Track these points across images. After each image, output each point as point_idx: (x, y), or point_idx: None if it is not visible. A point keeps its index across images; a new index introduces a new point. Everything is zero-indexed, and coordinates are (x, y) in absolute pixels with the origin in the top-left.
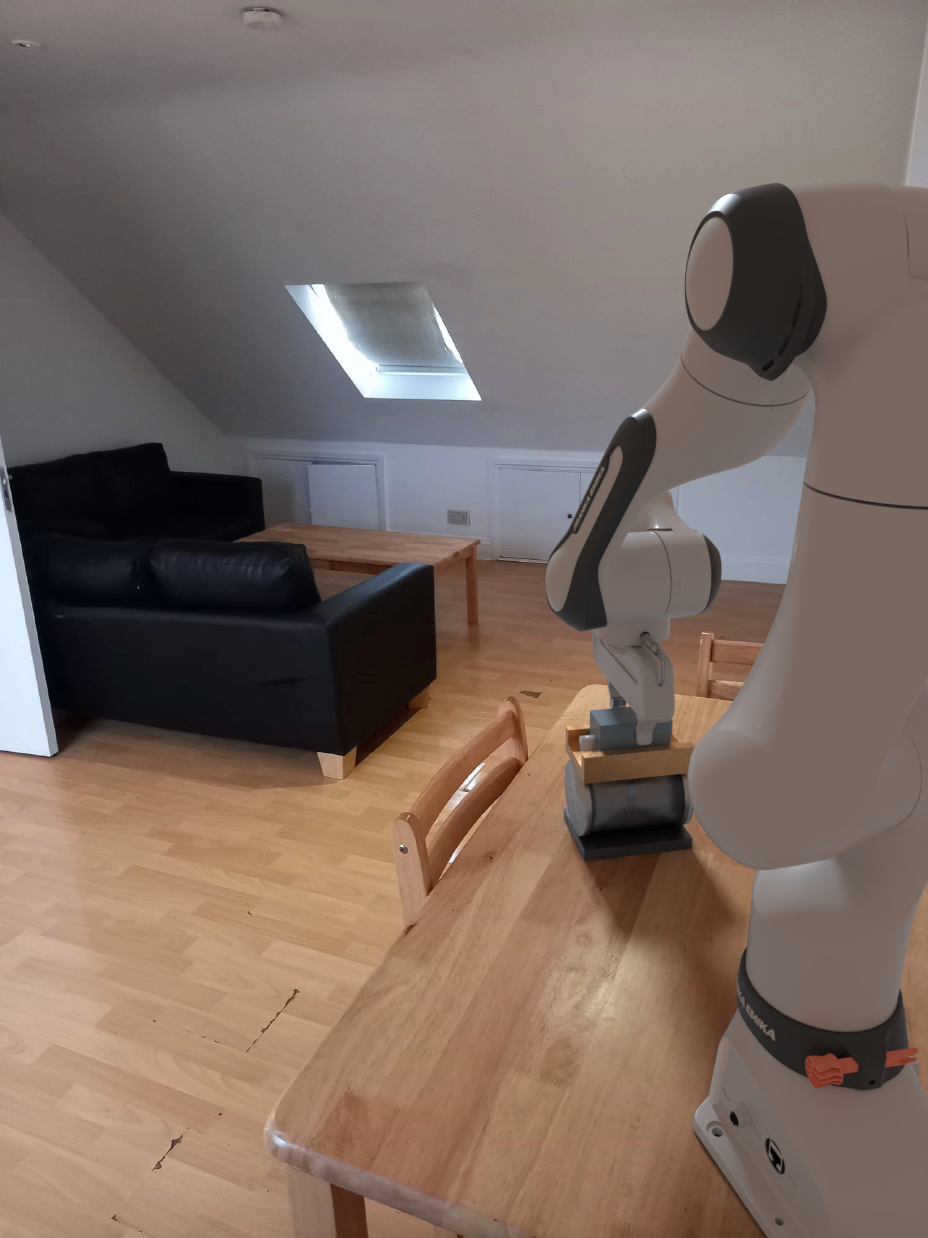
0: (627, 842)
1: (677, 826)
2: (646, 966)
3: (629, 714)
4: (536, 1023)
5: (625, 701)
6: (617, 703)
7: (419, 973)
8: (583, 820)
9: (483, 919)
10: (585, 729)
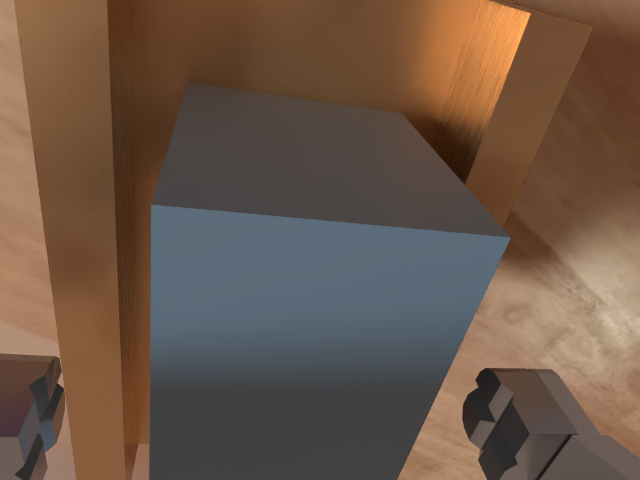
0: None
1: None
2: (619, 255)
3: (283, 451)
4: (594, 391)
5: (27, 423)
6: (41, 457)
7: (452, 471)
8: None
9: None
10: (125, 454)
